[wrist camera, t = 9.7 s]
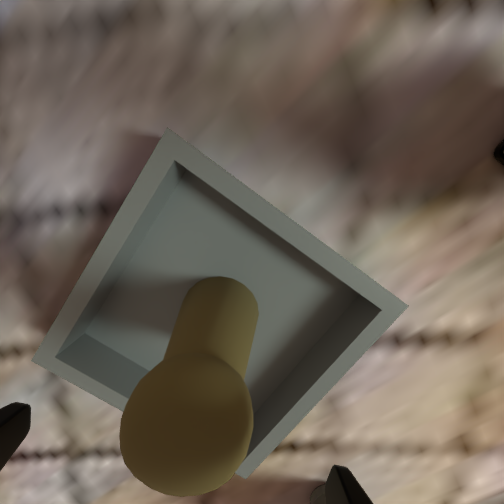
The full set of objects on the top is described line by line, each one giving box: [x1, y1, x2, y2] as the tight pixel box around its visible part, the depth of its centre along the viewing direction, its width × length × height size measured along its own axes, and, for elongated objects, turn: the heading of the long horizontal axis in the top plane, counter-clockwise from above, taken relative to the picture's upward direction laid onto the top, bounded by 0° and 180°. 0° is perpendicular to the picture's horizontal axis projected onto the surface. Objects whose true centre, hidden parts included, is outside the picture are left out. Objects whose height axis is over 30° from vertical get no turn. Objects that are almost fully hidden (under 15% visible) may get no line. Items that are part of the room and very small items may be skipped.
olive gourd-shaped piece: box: [120, 276, 259, 497], centre depth 14 cm, size 6×6×11 cm
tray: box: [31, 128, 408, 479], centre depth 18 cm, size 18×18×4 cm
